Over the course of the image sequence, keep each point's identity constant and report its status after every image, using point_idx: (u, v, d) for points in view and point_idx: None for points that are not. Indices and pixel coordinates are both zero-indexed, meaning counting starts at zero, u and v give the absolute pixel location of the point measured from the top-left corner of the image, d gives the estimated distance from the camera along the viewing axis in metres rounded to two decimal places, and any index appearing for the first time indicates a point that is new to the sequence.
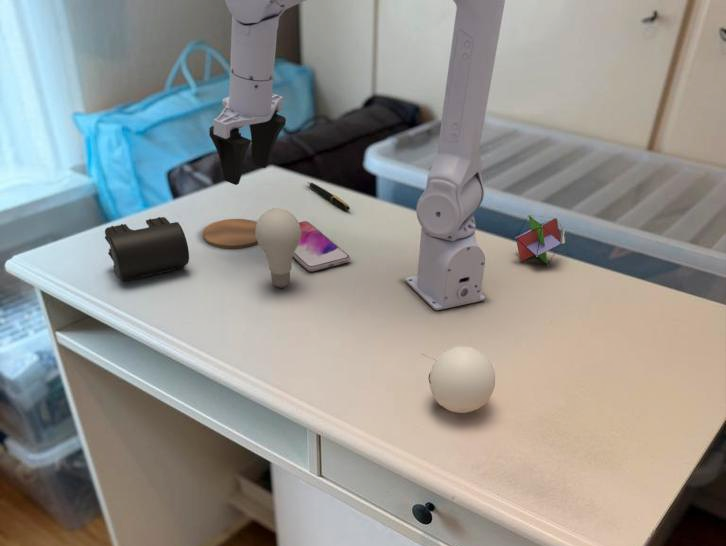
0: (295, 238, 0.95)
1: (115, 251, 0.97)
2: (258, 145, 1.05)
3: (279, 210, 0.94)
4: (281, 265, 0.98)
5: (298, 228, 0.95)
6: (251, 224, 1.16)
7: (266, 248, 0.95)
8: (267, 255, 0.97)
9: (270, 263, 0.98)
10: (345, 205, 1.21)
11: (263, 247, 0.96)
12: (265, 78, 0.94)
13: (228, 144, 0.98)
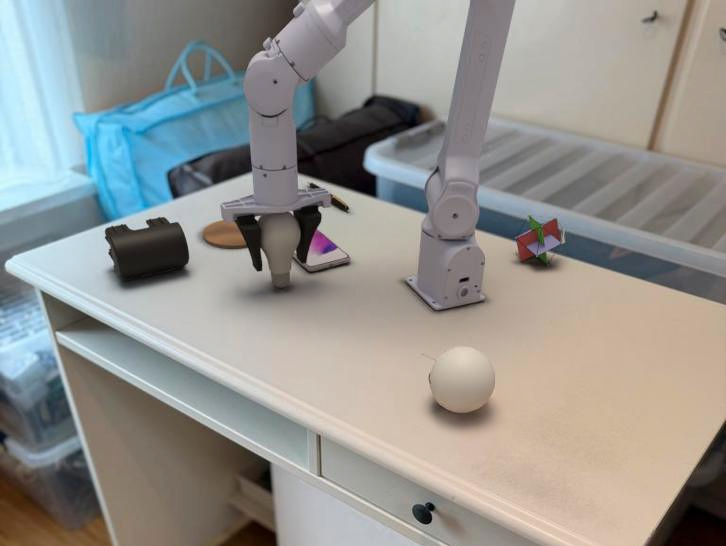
0: (295, 238, 0.95)
1: (115, 251, 0.97)
2: None
3: None
4: (281, 265, 0.98)
5: (298, 228, 0.95)
6: None
7: (266, 248, 0.95)
8: (267, 255, 0.97)
9: (270, 263, 0.98)
10: (344, 205, 1.21)
11: (263, 248, 0.96)
12: (295, 163, 0.89)
13: None
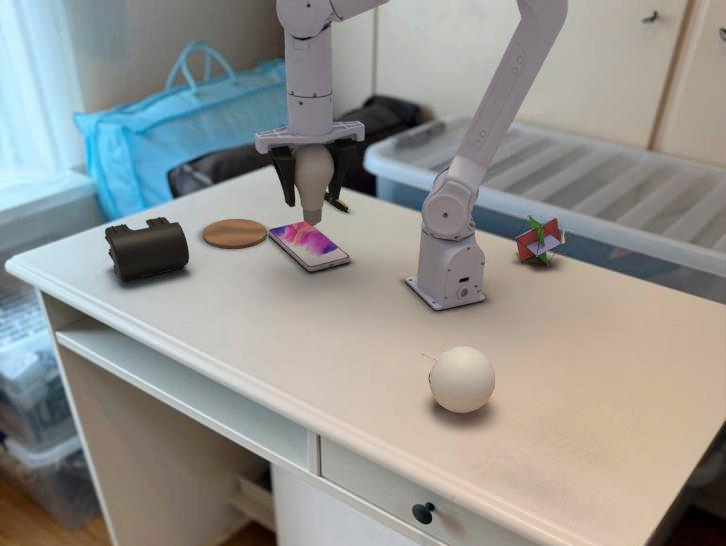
0: (329, 171, 0.94)
1: (115, 251, 0.97)
2: None
3: (312, 143, 0.93)
4: (314, 201, 0.97)
5: (332, 161, 0.94)
6: (251, 224, 1.16)
7: (299, 182, 0.94)
8: (300, 190, 0.96)
9: (302, 199, 0.97)
10: (344, 206, 1.21)
11: (297, 181, 0.95)
12: (328, 92, 0.88)
13: None
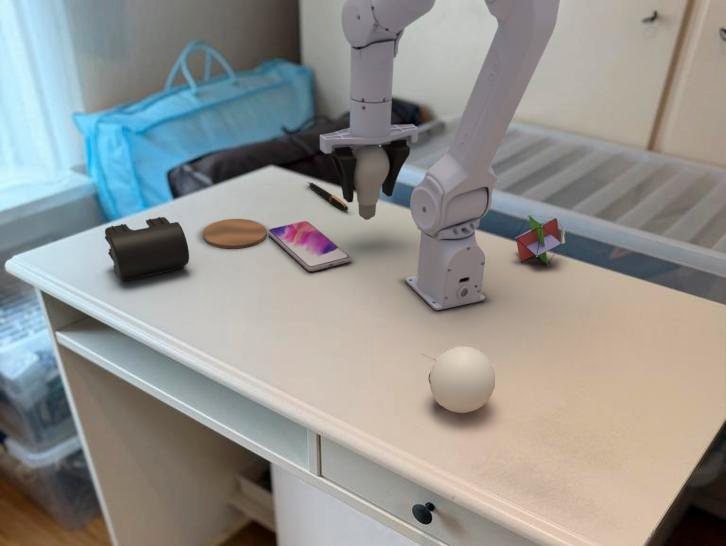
0: (385, 169, 1.03)
1: (115, 251, 0.97)
2: None
3: None
4: (370, 197, 1.06)
5: (388, 161, 1.03)
6: (251, 224, 1.16)
7: (358, 179, 1.03)
8: (357, 187, 1.05)
9: (359, 195, 1.06)
10: (343, 205, 1.21)
11: (355, 179, 1.04)
12: (377, 100, 0.96)
13: None
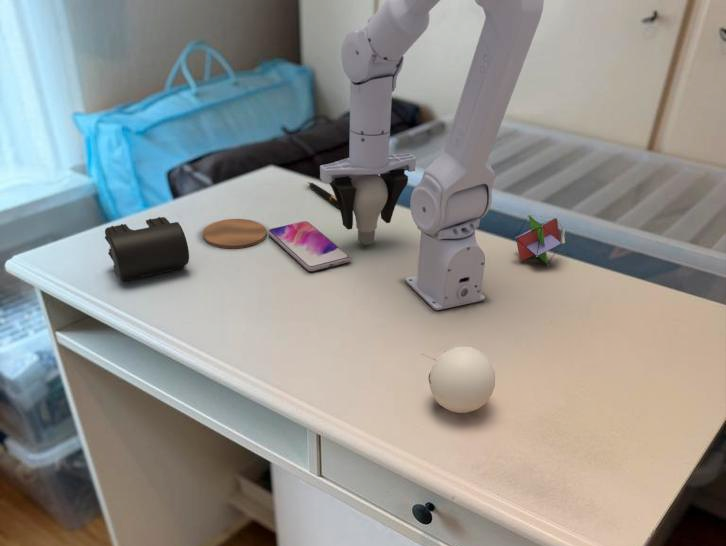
0: (384, 198, 1.06)
1: (115, 251, 0.97)
2: None
3: None
4: (369, 224, 1.09)
5: (386, 189, 1.06)
6: (251, 224, 1.16)
7: (357, 207, 1.06)
8: (357, 214, 1.08)
9: (359, 222, 1.09)
10: None
11: (355, 207, 1.06)
12: (376, 133, 0.99)
13: None
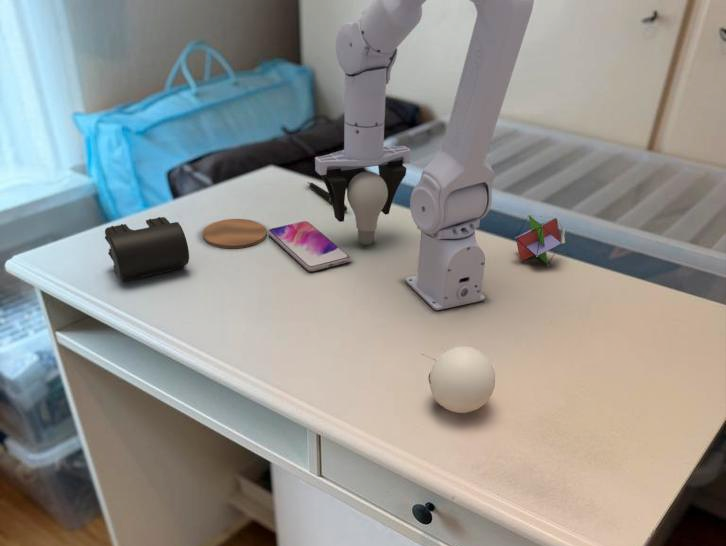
0: (384, 198, 1.06)
1: (115, 251, 0.97)
2: None
3: (369, 173, 1.05)
4: (369, 223, 1.09)
5: (386, 189, 1.06)
6: (251, 224, 1.16)
7: (357, 207, 1.06)
8: (357, 214, 1.08)
9: (358, 222, 1.09)
10: None
11: (355, 207, 1.06)
12: (370, 124, 1.00)
13: None
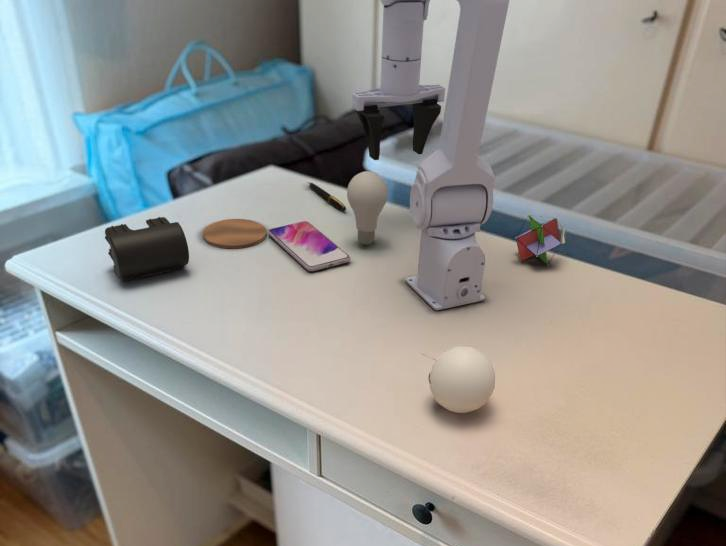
0: (384, 198, 1.06)
1: (115, 251, 0.97)
2: (417, 132, 1.12)
3: (369, 173, 1.05)
4: (369, 223, 1.09)
5: (386, 189, 1.06)
6: (251, 224, 1.16)
7: (357, 207, 1.06)
8: (357, 214, 1.08)
9: (358, 222, 1.09)
10: (342, 206, 1.21)
11: (355, 207, 1.06)
12: (400, 59, 1.01)
13: None
